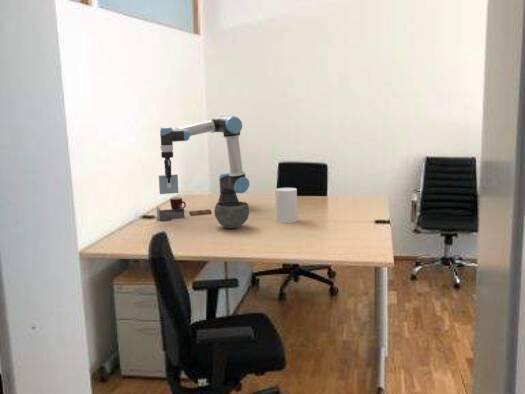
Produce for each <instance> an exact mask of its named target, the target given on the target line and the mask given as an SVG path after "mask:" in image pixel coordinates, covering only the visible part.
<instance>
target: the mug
mask: <svg viewBox="0 0 525 394" xmlns="http://www.w3.org/2000/svg"><path fill="white" fill-rule="evenodd" d="M169 201H170V207H171V209H179V205H181V206H182V207H183V208H184V209H185V208H186V207H187V204H186V202H185V200H184V201H183V197H170V199H169Z"/></svg>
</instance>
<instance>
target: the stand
mask: <svg viewBox="0 0 525 394" xmlns="http://www.w3.org/2000/svg"><path fill="white" fill-rule="evenodd" d="M188 214H189V215H190V217H192V216H193V217H194V216H195V217H196V216H206V215H212V210H211V209H199V210H198V209H197V210H190V211H189V212H188Z"/></svg>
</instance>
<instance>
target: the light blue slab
mask: <svg viewBox="0 0 525 394" xmlns="http://www.w3.org/2000/svg"><path fill="white" fill-rule="evenodd" d="M166 177H167V175H165V174H163V175H158V188H159V189H158V190H159V191H158V192H159V195H169V194H178V193H179V179H178V178H179V176H178V174H171V188H167V178H166Z"/></svg>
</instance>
